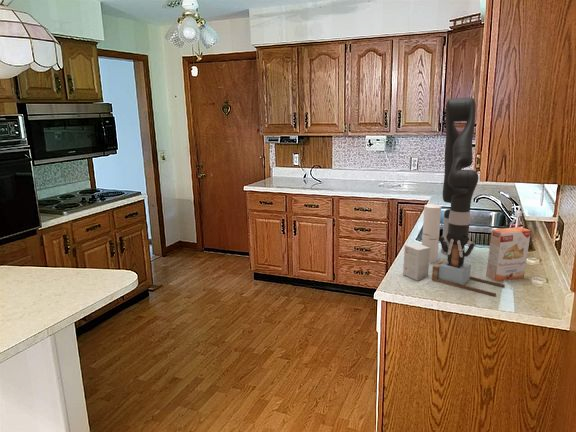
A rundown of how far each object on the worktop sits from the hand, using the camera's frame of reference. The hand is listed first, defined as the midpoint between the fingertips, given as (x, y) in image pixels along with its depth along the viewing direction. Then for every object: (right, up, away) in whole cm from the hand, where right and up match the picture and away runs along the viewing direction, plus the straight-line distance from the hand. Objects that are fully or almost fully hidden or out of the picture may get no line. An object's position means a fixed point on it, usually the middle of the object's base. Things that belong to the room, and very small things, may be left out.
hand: (455, 264), depth 175 cm
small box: (-13, -6, +9) cm, 17 cm away
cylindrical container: (-2, -1, +28) cm, 28 cm away
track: (+4, -9, -1) cm, 10 cm away
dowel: (0, -4, +1) cm, 4 cm away
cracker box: (+22, -7, +5) cm, 24 cm away
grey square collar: (0, -7, +2) cm, 7 cm away
